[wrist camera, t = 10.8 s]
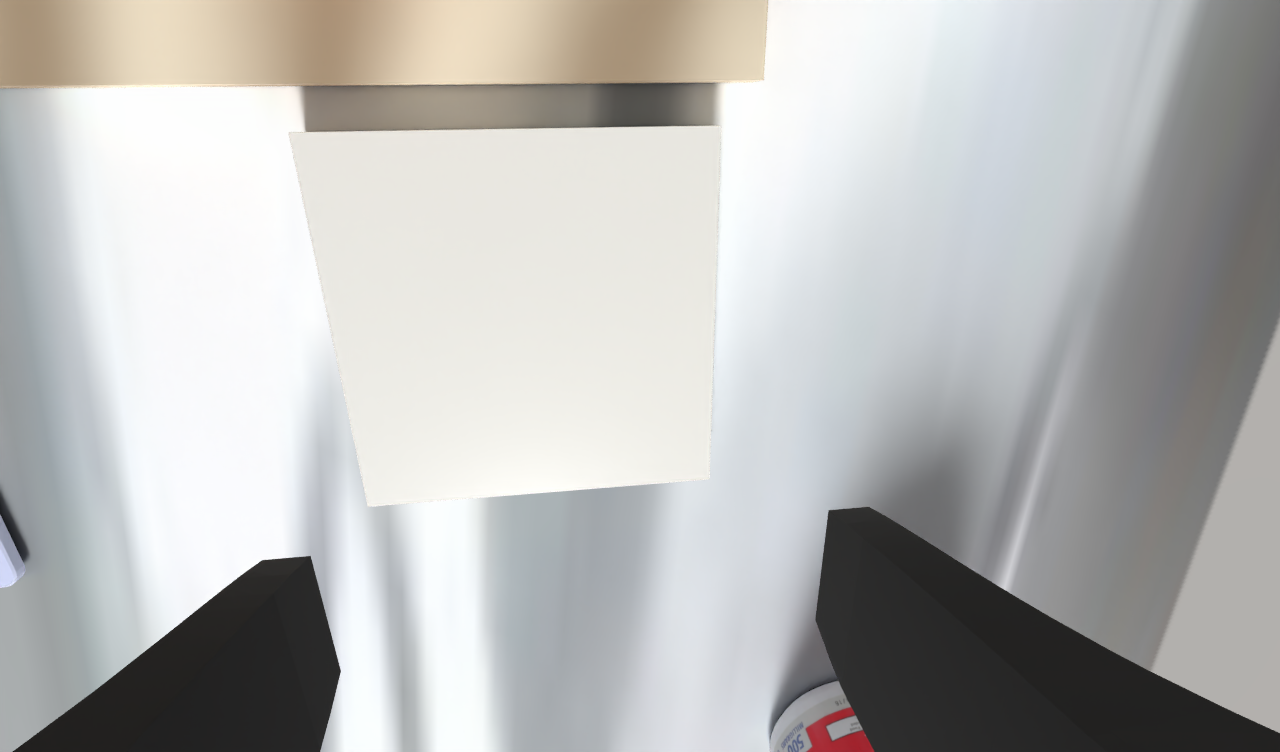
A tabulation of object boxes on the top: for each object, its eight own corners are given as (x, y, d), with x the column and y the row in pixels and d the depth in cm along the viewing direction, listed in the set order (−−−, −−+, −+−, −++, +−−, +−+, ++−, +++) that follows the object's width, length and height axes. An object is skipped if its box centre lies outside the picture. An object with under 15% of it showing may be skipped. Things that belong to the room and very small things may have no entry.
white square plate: (376, 487, 19) (367, 506, 18) (304, 131, 15) (288, 132, 14) (702, 462, 20) (709, 479, 19) (711, 125, 16) (721, 125, 15)
